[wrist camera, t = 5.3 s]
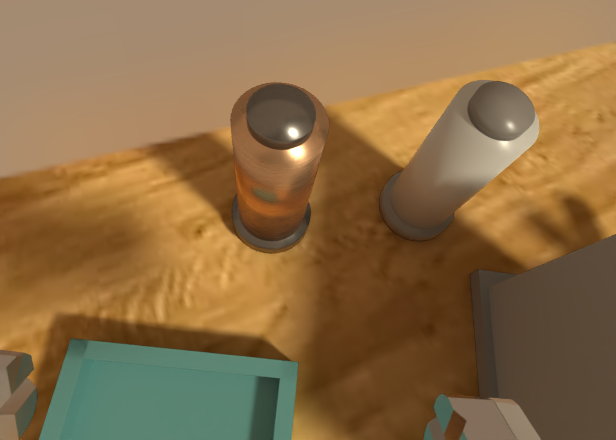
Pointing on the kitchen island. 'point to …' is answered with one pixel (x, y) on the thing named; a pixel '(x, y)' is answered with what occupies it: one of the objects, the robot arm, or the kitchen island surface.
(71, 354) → the tray
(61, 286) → the kitchen island surface
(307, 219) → the copper cartridge
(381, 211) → the cylinder
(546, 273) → the box
